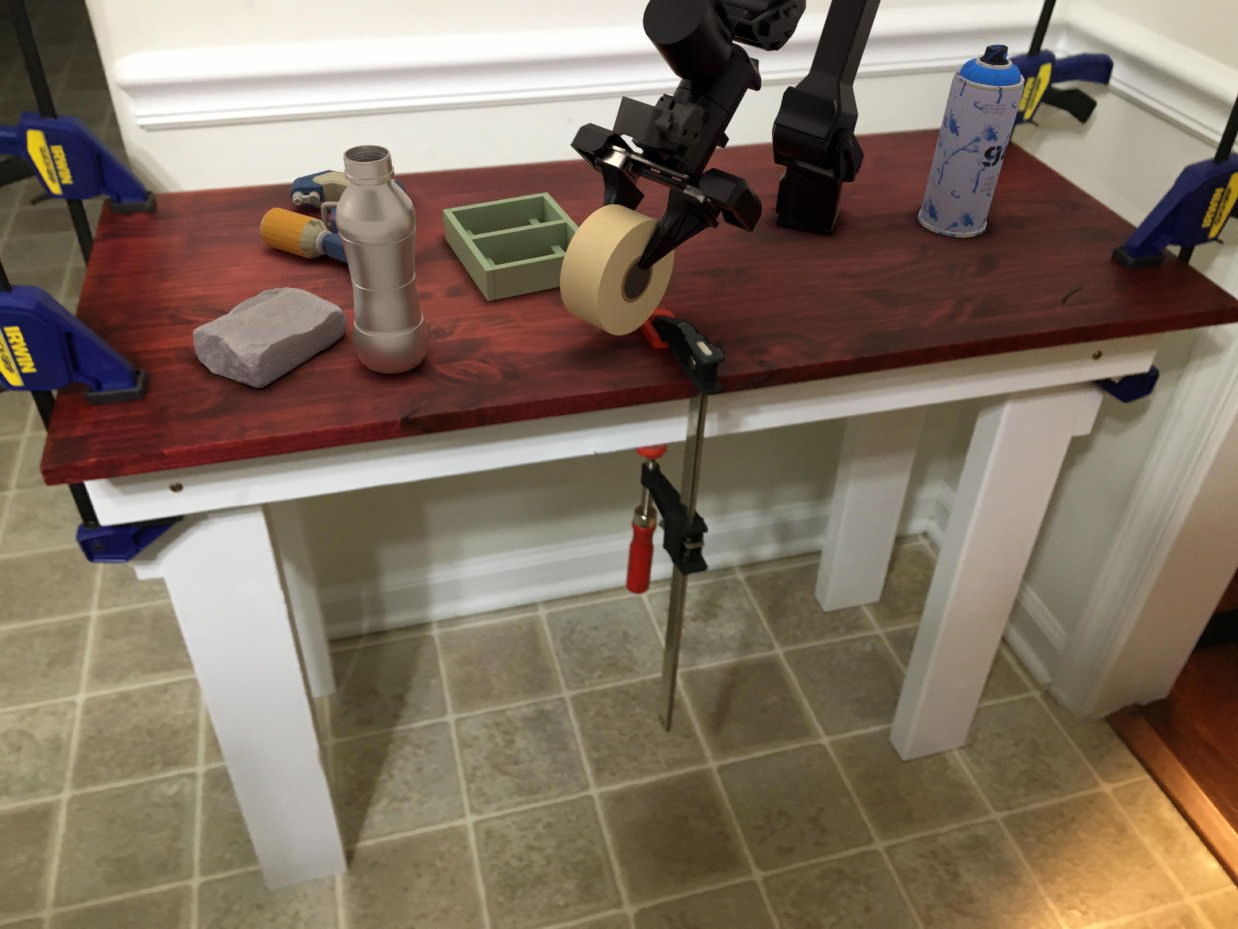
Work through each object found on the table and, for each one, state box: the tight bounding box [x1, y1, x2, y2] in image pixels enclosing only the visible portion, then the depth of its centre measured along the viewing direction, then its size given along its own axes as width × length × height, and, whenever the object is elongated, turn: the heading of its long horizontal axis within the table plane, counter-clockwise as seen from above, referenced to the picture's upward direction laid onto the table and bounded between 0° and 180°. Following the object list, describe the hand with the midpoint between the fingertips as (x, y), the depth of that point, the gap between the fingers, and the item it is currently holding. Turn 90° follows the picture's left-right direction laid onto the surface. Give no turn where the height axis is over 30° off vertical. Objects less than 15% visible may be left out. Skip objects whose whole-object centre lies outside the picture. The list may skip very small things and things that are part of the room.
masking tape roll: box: [559, 204, 675, 336], centre depth 93 cm, size 11×5×11 cm, turn 140°
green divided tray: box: [442, 191, 580, 302], centre depth 108 cm, size 12×14×4 cm
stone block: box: [192, 286, 348, 389], centre depth 93 cm, size 12×5×10 cm
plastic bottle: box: [335, 144, 430, 375], centre depth 87 cm, size 6×7×20 cm
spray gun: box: [259, 169, 407, 265], centre depth 111 cm, size 21×4×15 cm
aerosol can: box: [917, 44, 1025, 239], centre depth 112 cm, size 8×8×20 cm
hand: (620, 258), depth 92 cm, fingers closed on masking tape roll, 5 cm apart
